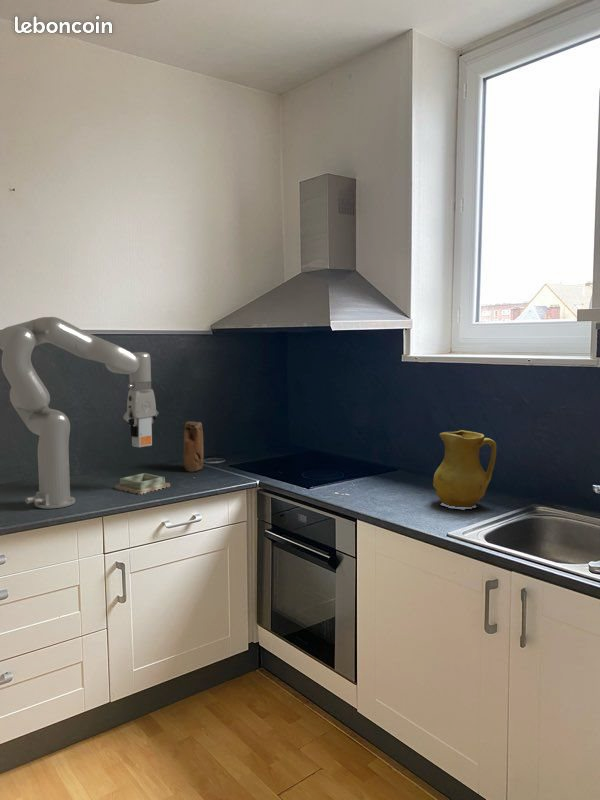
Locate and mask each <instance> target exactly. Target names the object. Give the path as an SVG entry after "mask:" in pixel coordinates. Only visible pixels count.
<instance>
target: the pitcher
mask: <svg viewBox="0 0 600 800" xmlns="http://www.w3.org/2000/svg"><path fill="white" fill-rule="evenodd" d="M439 437H440V438H441V440H442V441H443V444H444V457H443V459H442V462H441V463H440V465H439V466H438V467H437V469H436V471H435V472H434V474H433V482H432V486H433V487H434V489H435V493H434V494H435V495H437V497H438V498H439V500H440V502H442V503H444V504H446V505H449V506H455V507H472V506H474V505H475V504H477V503H478V502H480V500H481V499H482V498H483V497H484V496H486V495H485V494H486V491H487V488H488V486H489V483H490V482H491V481H492V476H493V470H494V469H495V463H496V457H497V443H496V441H494V440H493V439H491V438H488V437H485V435H484V434H483V433H479V432H475V431H469V430H463V429H462V430H461V429H459V430H458V431H444V432H440V433H439ZM485 445H488V446H489V447H490V449H491V453H490V458H489V463H488V466H487V470H486V471H485V470H484V468H483V466H482V464H481V461H480V449H481V448H482V447H484V446H485Z"/></svg>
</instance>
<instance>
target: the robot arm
mask: <svg viewBox="0 0 600 800" xmlns="http://www.w3.org/2000/svg"><path fill="white" fill-rule="evenodd" d="M46 343H49V344H52V345H54V346H55V347H58V348H61V349H63V350H65V351H67V352H69V353H71V354H73V355H75V356H77V357H79V358H82V359H85V360H90V361H95V362H98V363H102V364H105V367H106V369H107V370H108V371H110V372H111V373H114V374H121V375H129V384H127V388H129V390H128V393H127V394H128V395H127V400H126V401H127V403H126V404H127V405H126V407H127V408H126V412H125V413H124V414H123V416H122V418H123V420H124V421H125V422H126V423H127V424H128V426H129V427H130V436H131V438H132V437H138V426H136V425H137V421H138V419H139V418H147V417H151V418H152V425H153V424H154V423H155V420H156V419H157V417H158V415H159V411H158V410H157V405H156V397H155V393H154V389H153V388H152V373H151V371H152V369H151V368H152V367H151V366H152V365H151V364H152V362H151V354H150V353H148V352H145V351H141V352H132V351H130V350H127V349H126V348H124V347H121V346H120V345H118V344H115V343H114V342H113V343H112V342H110V341H108V340H105V339H103V338H101V337H99V336H96V335H94V334H91V333H89V332H88V331H85V330H83V329H80V328H79V327H77V326H75V325H73V324H71V323H70V322H67V321H65V320H64V319H61V318H59V317H56V316H42V317H38V318H35V319H32V320H28V321H24V322H21V323H17V324H14V325H9V326H7V327H4V328H2V329H1V330H0V350H1V351H2V355H1V368H2V371H3V374H4V376H5V378H6V379H7V382H8V383H9V385H10V386H11V388H10V391H9V400H10V403H11V405H12V406H13V408H14V409H15V411H16V412H17V414H18V415H19V417H20V418H21V420H22V421H23V423H24V424H25V426H26V427H27V429H28V430H29V431H30V432H31V433H33V434H35V435H37V436H39V437H38V443H37V463H38V464H37V465H38V469H37V470H38V491H36V492H35V495H34V496H30V497H29V496H28V497H25V500H24V501H25V504H27V505H29V504H32V503H33V504H34V506H35V507H36V508H40V509H44V510H45V509H59V508H60V509H61V508H65V507H69V506H72V505H73V504H75V503H76V498H75V497H73V496H71V487H70V485H71V483H70V459H69V458H70V457H69V456H70V455H69V452H70V450H69V445H70V442H69V440H70V434H71V433H70V432H71V423H70V420H69V419H70V418H68V416H67V415H66V413H64V412H62V411H60V410H57V409H53V408H50V407H49V405H50V402H51V395H50V393H49V390H48V389H47V387H46V386H45V384H44V383H43V381H42V380H41V378H40V376H39V375H38V373H37V371H36V370H35V368H34V366H33V364H32V360H31V359H32V358H31V357H32V353H33V350H34V348H35V347H37V346H39V345H42V344H46ZM133 421H134V422H133ZM153 432H154V431H153V428H152V435H153V434H154V433H153Z"/></svg>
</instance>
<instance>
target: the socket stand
mask: <svg viewBox="0 0 600 800" xmlns="http://www.w3.org/2000/svg"><path fill="white" fill-rule="evenodd" d="M166 487H167V488H170V487H171V483H170V482H166V477H165V476H162V475H161V476H160V475H157V474H156V475H155V474H151V473H147V472H143V473H139V474H134V475H130V476H126V477H122V478H119V484H115V485H114V489H115V490H119V491H123V490H124V491H123V492H127V491H129V492H128V493H132V492H133V494H136V493H138V494H137V495H140V494H141V495H143V493H144V494H147V492H148V493H151V492H150V491H152V492H155V491H154V490H156V491H158V489H160V490H163V489H162V488H164V489H167V488H166Z"/></svg>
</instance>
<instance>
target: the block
mask: <svg viewBox="0 0 600 800" xmlns="http://www.w3.org/2000/svg"><path fill="white" fill-rule="evenodd" d="M183 429H184V430H183V466H184V469H185V471H186V472H192V473H193V472H198V471H200V470H202V469H203V467H204V431H203V424H202V422H201V421H186V422H185V423H184V428H183Z"/></svg>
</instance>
